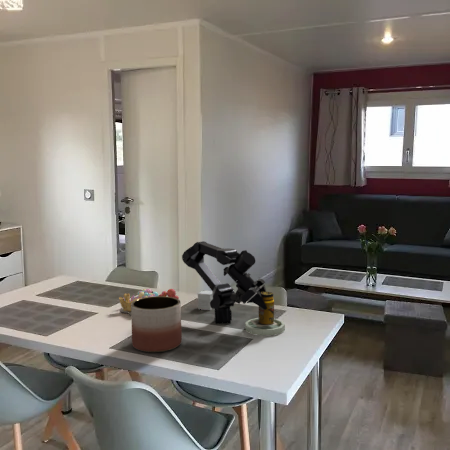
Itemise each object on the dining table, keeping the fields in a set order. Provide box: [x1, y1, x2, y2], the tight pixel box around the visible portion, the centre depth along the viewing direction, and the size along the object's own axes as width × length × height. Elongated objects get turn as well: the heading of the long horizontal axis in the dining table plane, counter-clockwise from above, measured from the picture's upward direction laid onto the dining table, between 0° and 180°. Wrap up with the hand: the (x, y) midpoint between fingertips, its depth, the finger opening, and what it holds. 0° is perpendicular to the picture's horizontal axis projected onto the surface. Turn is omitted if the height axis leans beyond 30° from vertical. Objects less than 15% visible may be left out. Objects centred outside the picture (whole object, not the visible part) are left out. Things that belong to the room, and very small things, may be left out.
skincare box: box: [197, 290, 213, 311], centre depth 225 cm, size 6×6×7 cm
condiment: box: [251, 291, 277, 327], centre depth 195 cm, size 7×8×12 cm
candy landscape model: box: [118, 288, 180, 316], centre depth 225 cm, size 25×24×9 cm
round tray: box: [244, 317, 286, 337], centre depth 196 cm, size 15×15×2 cm
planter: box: [130, 296, 183, 353], centre depth 180 cm, size 18×18×16 cm
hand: (268, 306), depth 195 cm, fingers closed on condiment, 6 cm apart
